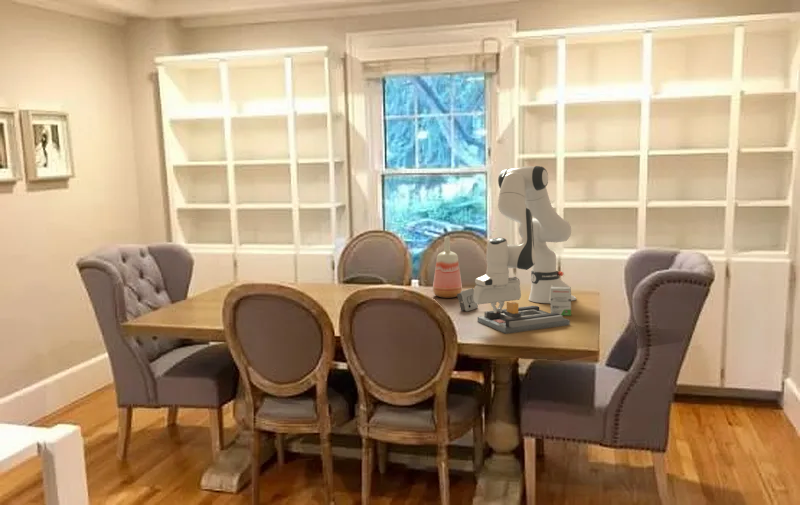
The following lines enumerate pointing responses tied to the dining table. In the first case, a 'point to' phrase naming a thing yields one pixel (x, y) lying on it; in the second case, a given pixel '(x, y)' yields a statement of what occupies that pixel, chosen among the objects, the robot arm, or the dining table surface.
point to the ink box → (561, 300)
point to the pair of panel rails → (527, 317)
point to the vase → (447, 273)
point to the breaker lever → (512, 309)
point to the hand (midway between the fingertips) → (497, 312)
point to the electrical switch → (467, 300)
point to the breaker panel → (502, 327)
